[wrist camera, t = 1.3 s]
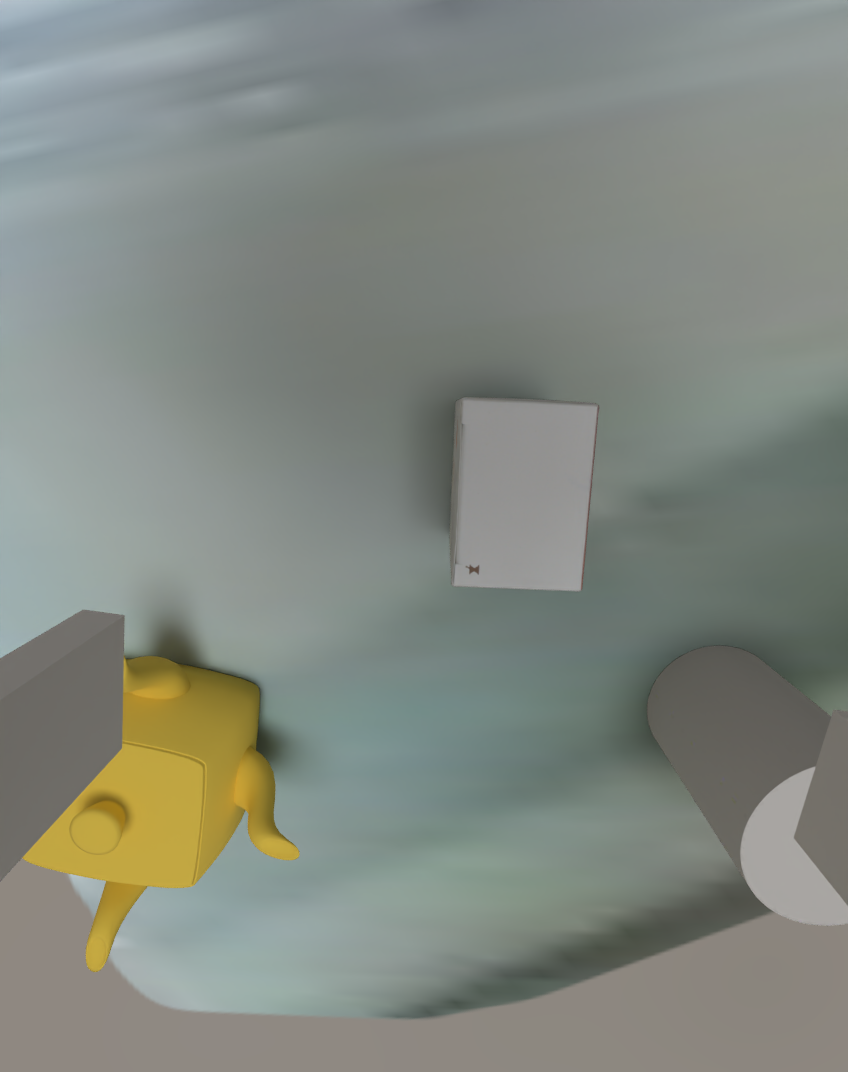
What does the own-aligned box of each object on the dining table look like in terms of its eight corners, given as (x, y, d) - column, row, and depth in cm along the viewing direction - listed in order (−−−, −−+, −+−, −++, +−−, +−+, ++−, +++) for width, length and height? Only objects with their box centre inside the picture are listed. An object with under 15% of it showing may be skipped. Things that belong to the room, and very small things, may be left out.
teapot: (20, 705, 39) (-115, 803, 29) (183, 581, 37) (94, 644, 27) (170, 863, 41) (91, 1001, 32) (332, 755, 39) (298, 869, 30)
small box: (542, 541, 35) (584, 598, 25) (447, 536, 36) (449, 592, 25) (554, 401, 34) (604, 401, 23) (454, 397, 34) (460, 395, 24)
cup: (654, 774, 39) (748, 936, 27) (639, 657, 37) (732, 777, 25) (784, 754, 38) (937, 911, 26) (775, 635, 36) (934, 747, 25)
